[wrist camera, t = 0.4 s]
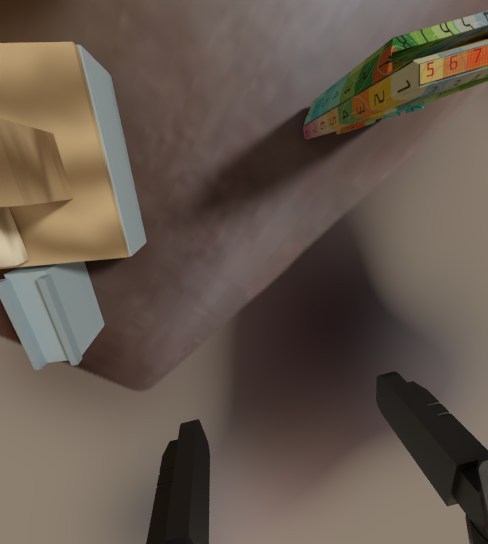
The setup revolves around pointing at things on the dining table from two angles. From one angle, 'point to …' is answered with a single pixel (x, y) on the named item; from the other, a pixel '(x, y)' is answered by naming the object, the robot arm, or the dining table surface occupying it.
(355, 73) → the puzzle game
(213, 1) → the dining table surface
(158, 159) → the dining table surface
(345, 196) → the dining table surface
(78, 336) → the toolbox
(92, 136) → the lid
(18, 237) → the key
